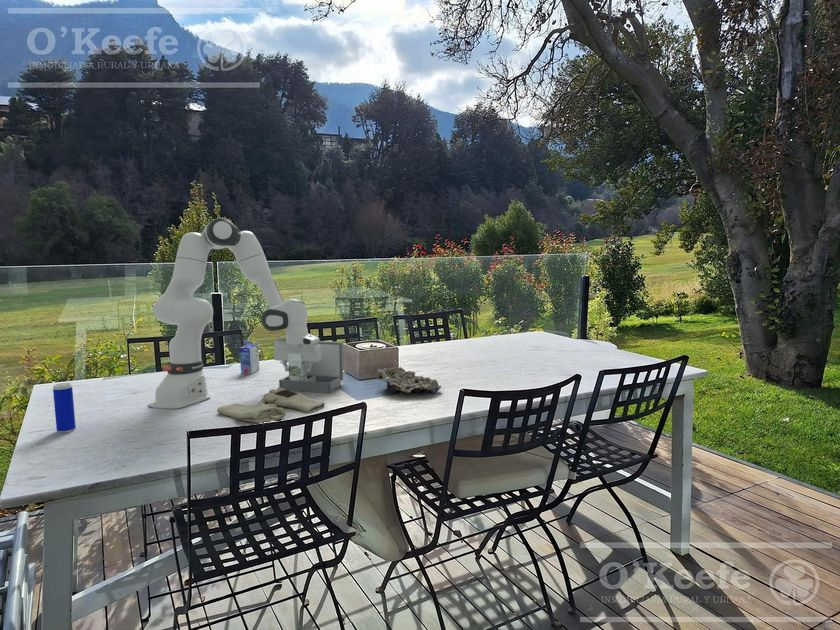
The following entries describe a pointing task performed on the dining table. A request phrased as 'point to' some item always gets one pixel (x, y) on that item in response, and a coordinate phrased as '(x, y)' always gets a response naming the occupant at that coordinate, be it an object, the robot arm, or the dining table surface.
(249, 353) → the ink cartridge box
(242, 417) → the pair of gloves
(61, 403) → the beverage can
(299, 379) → the syrup box
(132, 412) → the dining table surface
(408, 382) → the decorative rock
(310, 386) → the equipment case
